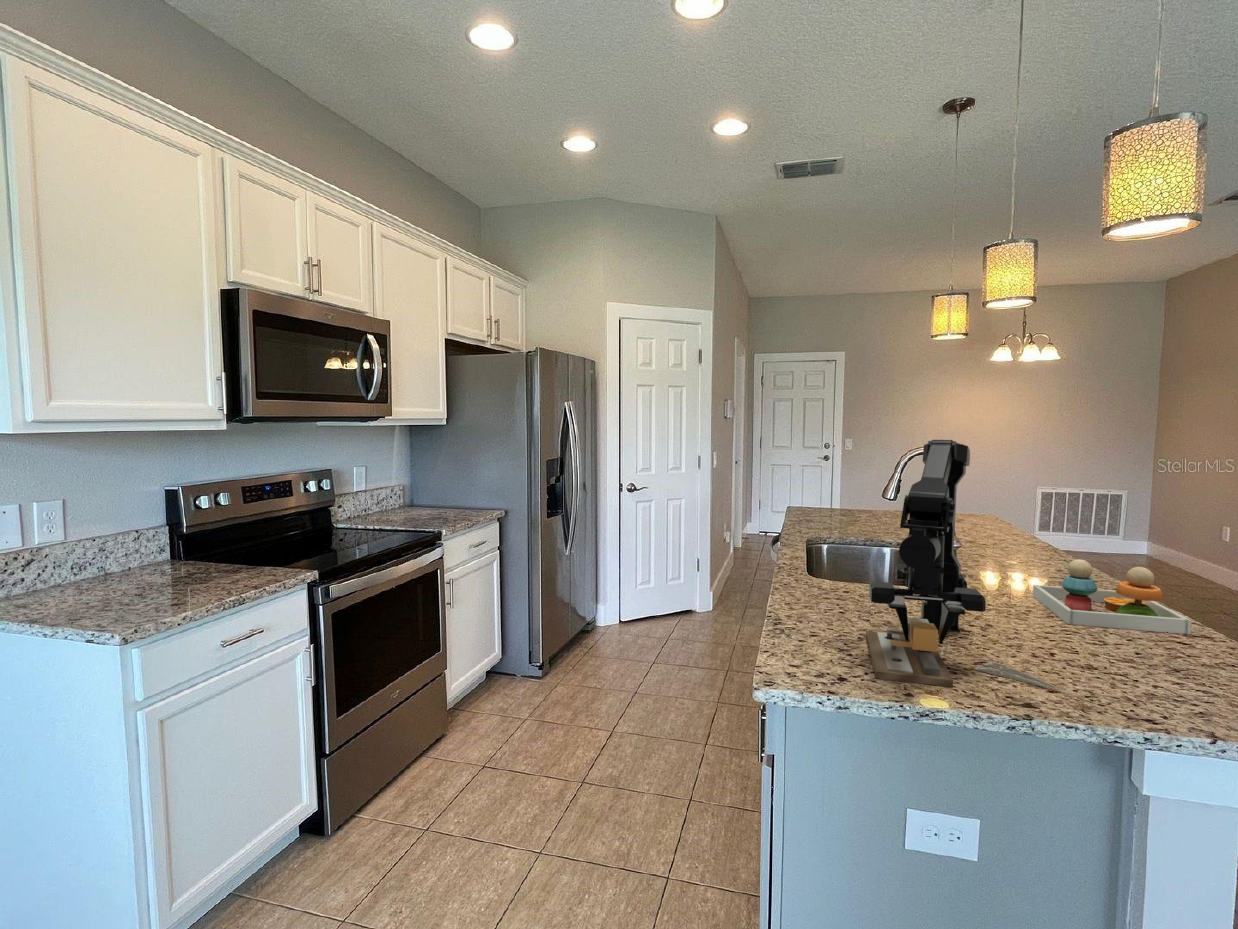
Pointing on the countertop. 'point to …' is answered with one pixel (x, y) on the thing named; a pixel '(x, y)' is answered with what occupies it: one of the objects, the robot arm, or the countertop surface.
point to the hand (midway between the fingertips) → (923, 641)
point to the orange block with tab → (920, 637)
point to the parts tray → (1163, 623)
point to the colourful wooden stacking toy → (1133, 588)
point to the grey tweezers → (1014, 674)
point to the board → (906, 659)
